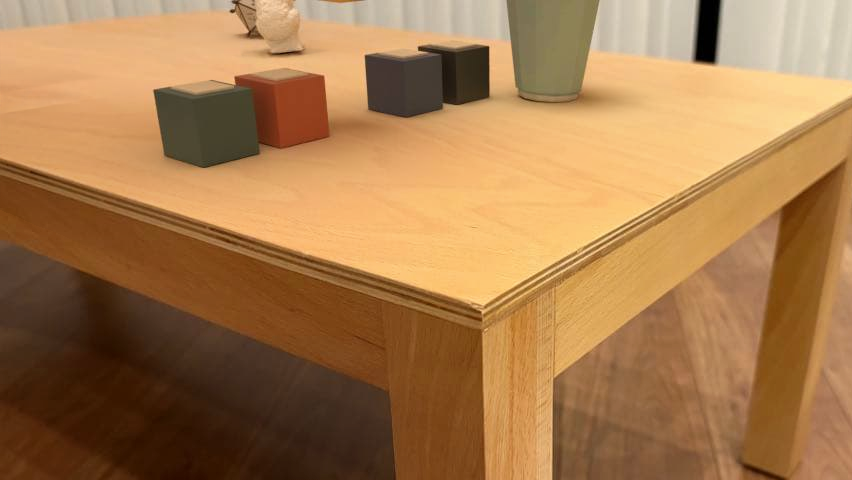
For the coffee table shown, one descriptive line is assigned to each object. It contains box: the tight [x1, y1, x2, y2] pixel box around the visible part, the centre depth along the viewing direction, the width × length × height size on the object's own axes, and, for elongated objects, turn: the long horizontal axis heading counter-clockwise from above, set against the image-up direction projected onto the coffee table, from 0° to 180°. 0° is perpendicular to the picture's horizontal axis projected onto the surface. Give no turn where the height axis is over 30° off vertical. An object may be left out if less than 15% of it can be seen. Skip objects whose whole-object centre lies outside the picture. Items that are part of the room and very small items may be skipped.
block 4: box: [417, 40, 491, 106], centre depth 85 cm, size 5×5×5 cm
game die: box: [228, 0, 296, 39], centre depth 119 cm, size 9×8×10 cm
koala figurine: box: [254, 0, 306, 54], centre depth 106 cm, size 8×7×12 cm
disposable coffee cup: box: [505, 0, 601, 103], centre depth 85 cm, size 11×11×15 cm
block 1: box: [152, 79, 261, 168], centre depth 65 cm, size 5×5×5 cm
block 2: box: [233, 67, 330, 149], centre depth 70 cm, size 5×5×5 cm
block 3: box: [364, 48, 444, 118], centre depth 80 cm, size 5×5×5 cm
